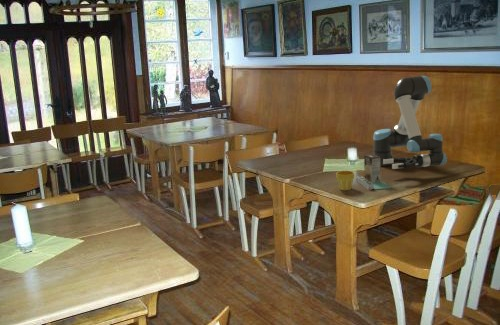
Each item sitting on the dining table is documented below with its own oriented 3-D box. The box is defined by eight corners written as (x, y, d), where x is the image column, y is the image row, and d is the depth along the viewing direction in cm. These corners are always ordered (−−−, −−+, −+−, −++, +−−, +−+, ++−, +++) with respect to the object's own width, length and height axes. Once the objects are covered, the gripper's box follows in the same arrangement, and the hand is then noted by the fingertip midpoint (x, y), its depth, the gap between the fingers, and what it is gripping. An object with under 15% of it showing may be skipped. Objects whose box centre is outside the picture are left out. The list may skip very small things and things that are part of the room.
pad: (383, 182, 303) (383, 181, 303) (391, 188, 291) (391, 187, 291) (367, 184, 302) (367, 183, 301) (375, 189, 290) (375, 189, 290)
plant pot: (334, 187, 301) (334, 171, 298) (351, 185, 301) (351, 169, 299) (339, 192, 290) (338, 175, 288) (356, 190, 291) (356, 174, 289)
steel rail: (361, 180, 310) (361, 175, 309) (373, 189, 291) (373, 184, 290) (356, 181, 310) (356, 176, 309) (368, 190, 290) (368, 184, 290)
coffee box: (363, 180, 310) (363, 154, 307) (373, 178, 312) (373, 153, 308) (371, 184, 302) (371, 157, 298) (381, 182, 303) (380, 156, 300)
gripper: (430, 171, 297) (396, 175, 294) (411, 162, 321) (379, 165, 319) (430, 159, 295) (396, 162, 293) (411, 150, 319) (379, 154, 317)
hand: (387, 164), depth 306 cm, fingers open, 13 cm apart
